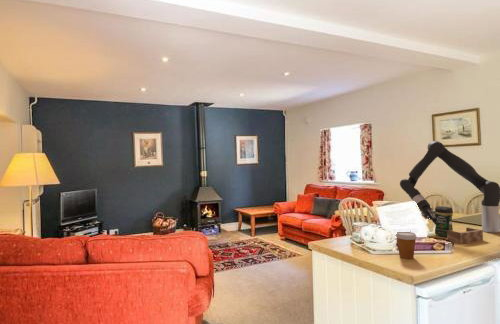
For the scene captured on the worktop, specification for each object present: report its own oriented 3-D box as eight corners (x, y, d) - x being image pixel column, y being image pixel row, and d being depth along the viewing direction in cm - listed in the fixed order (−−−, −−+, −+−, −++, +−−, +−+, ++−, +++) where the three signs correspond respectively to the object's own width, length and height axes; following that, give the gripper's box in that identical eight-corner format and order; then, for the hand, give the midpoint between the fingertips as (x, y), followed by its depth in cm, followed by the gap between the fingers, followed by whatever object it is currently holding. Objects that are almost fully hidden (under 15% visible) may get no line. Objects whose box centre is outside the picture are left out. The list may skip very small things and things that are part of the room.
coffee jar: (432, 235, 206) (432, 206, 206) (439, 233, 210) (439, 205, 210) (448, 238, 198) (448, 208, 198) (455, 236, 202) (454, 206, 202)
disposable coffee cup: (416, 261, 155) (415, 236, 155) (394, 258, 160) (394, 234, 160) (417, 256, 164) (417, 232, 163) (397, 253, 169) (397, 230, 169)
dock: (468, 237, 199) (467, 227, 199) (482, 240, 191) (482, 230, 191) (447, 240, 193) (446, 230, 193) (461, 243, 184) (461, 233, 184)
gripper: (416, 199, 215) (433, 221, 204) (431, 198, 220) (448, 219, 209) (410, 206, 220) (426, 228, 209) (424, 205, 225) (441, 226, 214)
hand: (437, 223), depth 209 cm, fingers closed
